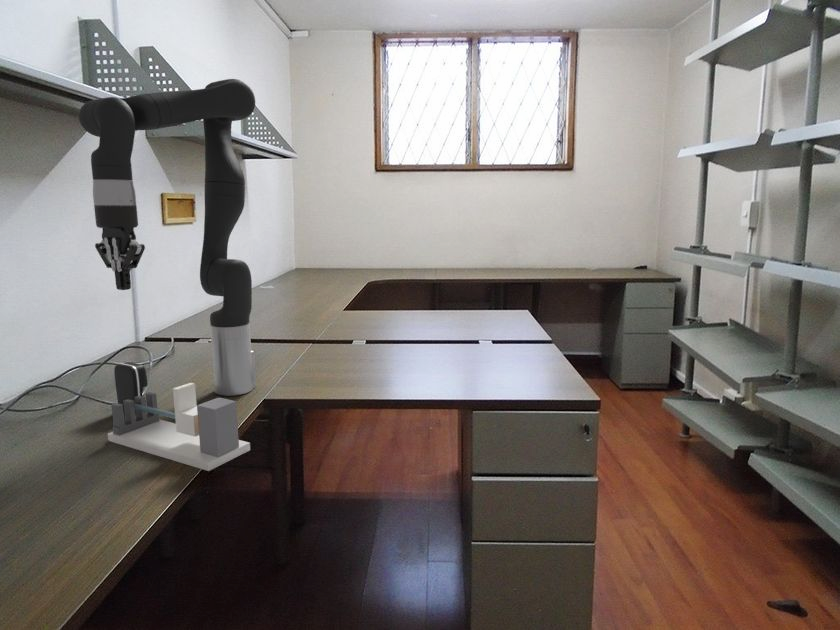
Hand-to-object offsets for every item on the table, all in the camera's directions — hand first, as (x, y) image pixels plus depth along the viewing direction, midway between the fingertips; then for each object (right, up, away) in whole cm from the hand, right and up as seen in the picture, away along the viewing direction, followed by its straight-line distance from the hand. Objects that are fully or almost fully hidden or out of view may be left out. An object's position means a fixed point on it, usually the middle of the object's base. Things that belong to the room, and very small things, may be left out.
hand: (123, 289), depth 116 cm
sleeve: (+18, -27, -9) cm, 34 cm away
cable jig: (+14, -31, -6) cm, 34 cm away
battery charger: (-3, -27, +12) cm, 30 cm away
